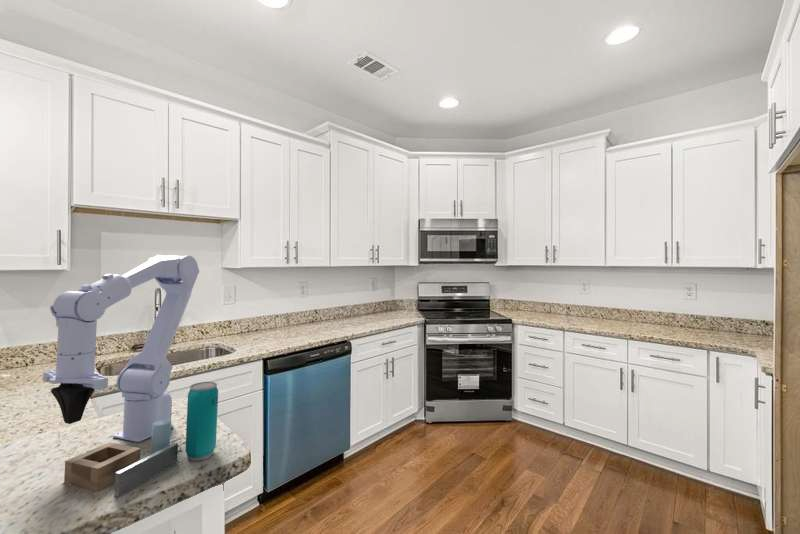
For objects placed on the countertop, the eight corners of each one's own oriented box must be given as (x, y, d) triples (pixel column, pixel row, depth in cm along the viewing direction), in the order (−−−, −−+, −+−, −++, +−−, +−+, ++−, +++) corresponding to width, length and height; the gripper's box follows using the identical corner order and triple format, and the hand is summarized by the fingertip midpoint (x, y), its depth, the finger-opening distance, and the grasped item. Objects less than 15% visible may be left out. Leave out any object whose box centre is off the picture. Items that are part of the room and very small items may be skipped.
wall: (173, 462, 76) (174, 442, 76) (177, 463, 75) (178, 443, 75) (114, 495, 64) (115, 472, 64) (118, 497, 64) (119, 473, 64)
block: (109, 461, 75) (110, 442, 75) (139, 468, 73) (140, 448, 73) (64, 483, 67) (65, 461, 67) (96, 491, 65) (98, 468, 65)
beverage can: (219, 448, 82) (222, 381, 82) (210, 461, 76) (213, 389, 77) (191, 449, 81) (194, 381, 81) (180, 463, 75) (183, 389, 76)
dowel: (160, 451, 80) (162, 419, 80) (173, 454, 79) (175, 421, 79) (146, 459, 76) (148, 425, 77) (159, 461, 76) (161, 427, 76)
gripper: (25, 352, 71) (21, 424, 70) (81, 360, 67) (77, 435, 67) (67, 346, 77) (63, 411, 77) (120, 352, 74) (116, 420, 73)
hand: (72, 421), depth 72 cm, fingers closed
